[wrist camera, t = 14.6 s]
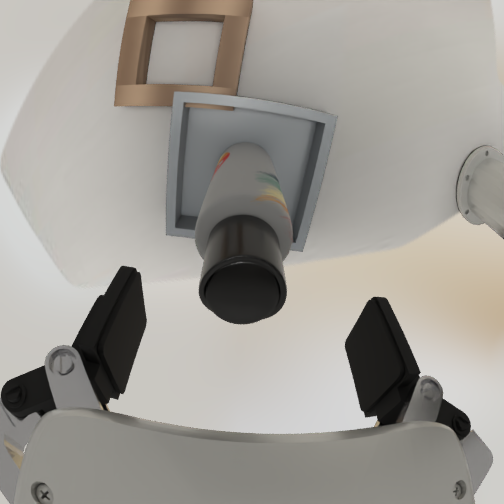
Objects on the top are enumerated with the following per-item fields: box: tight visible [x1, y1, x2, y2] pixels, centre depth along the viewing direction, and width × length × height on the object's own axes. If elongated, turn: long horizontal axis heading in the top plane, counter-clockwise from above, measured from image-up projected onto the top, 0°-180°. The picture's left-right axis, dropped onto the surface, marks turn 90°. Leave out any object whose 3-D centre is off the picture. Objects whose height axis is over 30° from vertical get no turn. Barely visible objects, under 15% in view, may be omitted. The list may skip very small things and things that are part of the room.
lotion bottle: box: [195, 142, 293, 324], centre depth 20 cm, size 6×6×20 cm
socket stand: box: [114, 0, 253, 111], centre depth 20 cm, size 12×12×3 cm
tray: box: [166, 92, 338, 252], centre depth 27 cm, size 15×15×4 cm
